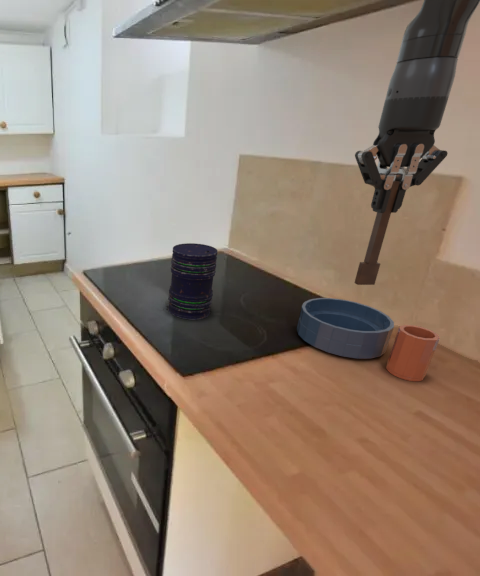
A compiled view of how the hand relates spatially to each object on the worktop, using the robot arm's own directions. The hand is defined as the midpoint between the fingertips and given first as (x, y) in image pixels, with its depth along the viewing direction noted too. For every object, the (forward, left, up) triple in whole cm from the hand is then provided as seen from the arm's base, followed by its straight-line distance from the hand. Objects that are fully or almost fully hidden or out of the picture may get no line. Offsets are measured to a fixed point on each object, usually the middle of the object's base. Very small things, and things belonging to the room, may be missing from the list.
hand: (384, 211), depth 63 cm
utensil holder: (-5, +8, -27) cm, 28 cm away
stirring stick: (0, 0, -13) cm, 13 cm away
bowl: (0, -3, -27) cm, 27 cm away
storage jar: (+27, -17, -27) cm, 41 cm away
